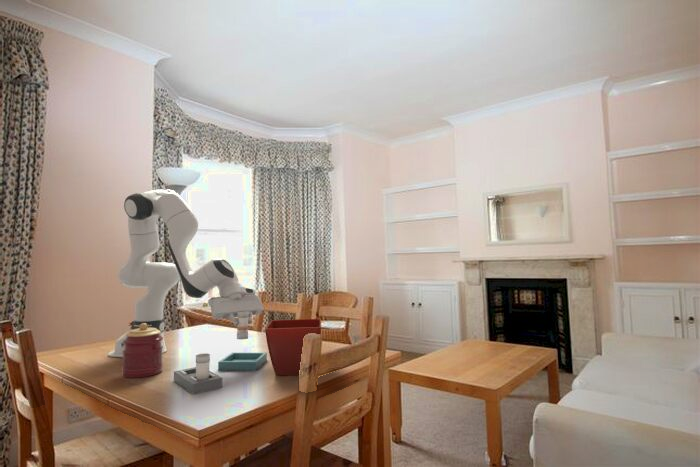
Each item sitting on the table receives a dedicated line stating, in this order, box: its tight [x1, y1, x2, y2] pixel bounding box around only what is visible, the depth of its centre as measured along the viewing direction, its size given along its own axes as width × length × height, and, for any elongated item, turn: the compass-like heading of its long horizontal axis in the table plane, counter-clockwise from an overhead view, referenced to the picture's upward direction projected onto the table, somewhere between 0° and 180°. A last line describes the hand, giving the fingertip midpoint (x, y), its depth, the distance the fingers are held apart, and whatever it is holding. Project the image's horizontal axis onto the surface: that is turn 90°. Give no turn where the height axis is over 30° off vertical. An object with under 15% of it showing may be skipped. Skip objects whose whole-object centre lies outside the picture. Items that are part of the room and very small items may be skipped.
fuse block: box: [173, 366, 223, 395], centre depth 129 cm, size 18×9×3 cm, turn 41°
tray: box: [217, 352, 268, 372], centre depth 151 cm, size 14×14×3 cm
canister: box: [121, 323, 164, 379], centre depth 142 cm, size 13×13×18 cm
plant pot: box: [264, 318, 322, 376], centre depth 144 cm, size 19×19×17 cm
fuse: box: [195, 352, 211, 381], centre depth 126 cm, size 4×4×10 cm
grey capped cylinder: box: [236, 311, 249, 340], centre depth 151 cm, size 4×4×10 cm
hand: (243, 323), depth 151 cm, fingers closed on grey capped cylinder, 4 cm apart
